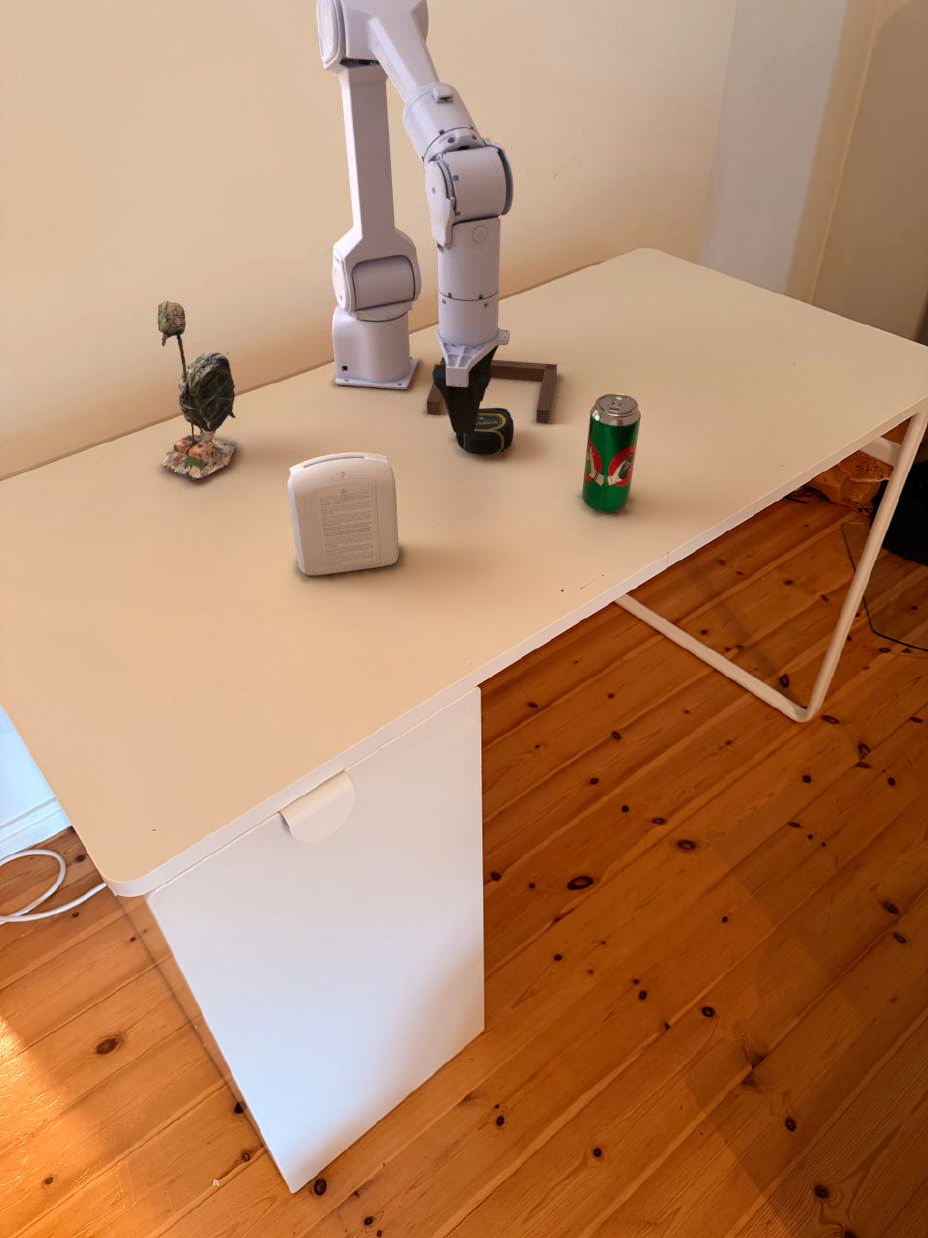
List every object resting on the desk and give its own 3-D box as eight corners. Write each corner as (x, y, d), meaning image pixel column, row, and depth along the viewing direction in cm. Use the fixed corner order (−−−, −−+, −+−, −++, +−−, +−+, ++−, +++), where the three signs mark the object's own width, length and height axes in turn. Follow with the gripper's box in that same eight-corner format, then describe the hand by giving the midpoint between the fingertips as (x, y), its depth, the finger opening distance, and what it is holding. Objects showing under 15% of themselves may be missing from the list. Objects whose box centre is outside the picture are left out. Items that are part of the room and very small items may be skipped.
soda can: (632, 492, 102) (646, 395, 94) (622, 519, 99) (636, 420, 91) (587, 484, 104) (597, 387, 95) (576, 510, 100) (586, 412, 92)
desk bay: (426, 413, 115) (426, 400, 113) (442, 368, 123) (442, 355, 122) (548, 423, 113) (549, 410, 112) (556, 376, 121) (557, 364, 120)
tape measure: (509, 429, 112) (510, 401, 110) (516, 460, 107) (517, 432, 105) (452, 431, 112) (452, 404, 109) (457, 463, 107) (456, 435, 104)
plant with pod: (267, 448, 109) (239, 281, 96) (188, 491, 103) (145, 319, 89) (224, 424, 113) (190, 260, 99) (145, 463, 107) (98, 295, 93)
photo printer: (396, 540, 97) (389, 437, 88) (403, 566, 93) (397, 462, 85) (296, 555, 95) (279, 451, 86) (301, 582, 92) (283, 477, 83)
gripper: (501, 325, 82) (497, 456, 91) (519, 259, 92) (515, 382, 101) (422, 320, 82) (426, 450, 92) (449, 254, 93) (451, 378, 102)
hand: (468, 414), depth 97 cm, fingers open, 6 cm apart
